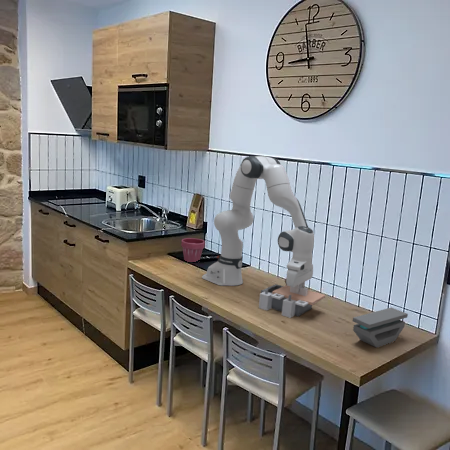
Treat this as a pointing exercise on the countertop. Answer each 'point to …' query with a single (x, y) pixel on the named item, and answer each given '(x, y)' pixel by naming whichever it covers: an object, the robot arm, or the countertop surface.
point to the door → (298, 295)
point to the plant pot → (192, 249)
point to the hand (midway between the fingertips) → (298, 291)
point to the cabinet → (281, 303)
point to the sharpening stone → (379, 326)
